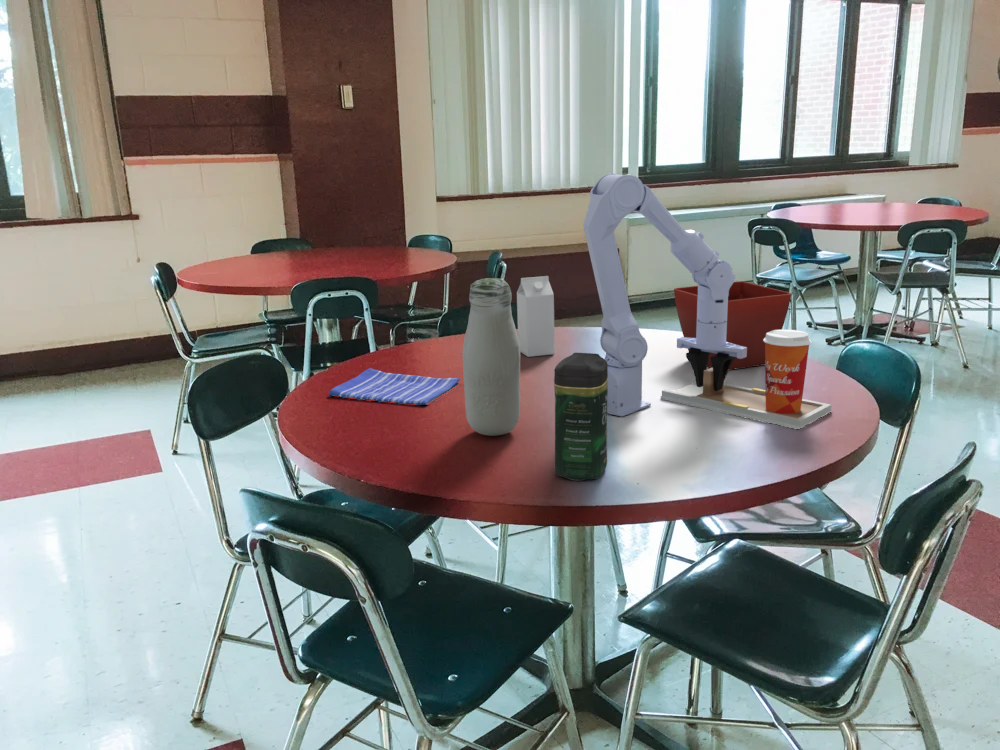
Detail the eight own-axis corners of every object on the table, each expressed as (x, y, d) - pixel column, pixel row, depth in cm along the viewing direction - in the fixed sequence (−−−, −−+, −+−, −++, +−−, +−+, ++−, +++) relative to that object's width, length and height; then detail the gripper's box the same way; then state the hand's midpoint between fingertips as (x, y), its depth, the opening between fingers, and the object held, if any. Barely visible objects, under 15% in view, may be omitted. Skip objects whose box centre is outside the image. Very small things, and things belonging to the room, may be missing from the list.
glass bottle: (462, 442, 141) (454, 283, 134) (472, 423, 151) (465, 274, 144) (518, 443, 140) (514, 282, 132) (524, 424, 150) (521, 273, 142)
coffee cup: (751, 413, 150) (755, 334, 146) (772, 403, 156) (776, 326, 152) (795, 422, 144) (800, 340, 140) (814, 411, 150) (820, 332, 146)
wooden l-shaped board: (795, 422, 144) (797, 392, 143) (693, 399, 159) (694, 372, 157) (819, 410, 150) (821, 380, 149) (718, 389, 165) (719, 362, 163)
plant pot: (714, 377, 176) (717, 300, 171) (670, 357, 193) (671, 287, 189) (789, 367, 181) (794, 293, 177) (739, 349, 199) (742, 281, 194)
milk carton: (518, 351, 204) (516, 276, 199) (544, 348, 206) (543, 274, 201) (527, 357, 198) (525, 280, 192) (554, 354, 200) (553, 277, 194)
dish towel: (369, 378, 186) (368, 366, 185) (462, 386, 177) (461, 374, 176) (326, 399, 171) (325, 387, 170) (425, 409, 162) (425, 396, 161)
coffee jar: (601, 484, 122) (601, 365, 117) (550, 480, 124) (548, 363, 119) (611, 461, 131) (612, 349, 126) (563, 457, 133) (562, 347, 128)
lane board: (798, 430, 142) (799, 419, 141) (660, 398, 162) (660, 389, 162) (831, 412, 151) (832, 402, 150) (696, 384, 171) (696, 375, 170)
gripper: (756, 321, 155) (753, 389, 159) (691, 313, 165) (689, 377, 169) (737, 328, 150) (734, 398, 154) (671, 318, 160) (669, 384, 164)
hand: (709, 387), depth 161 cm, fingers open, 3 cm apart
